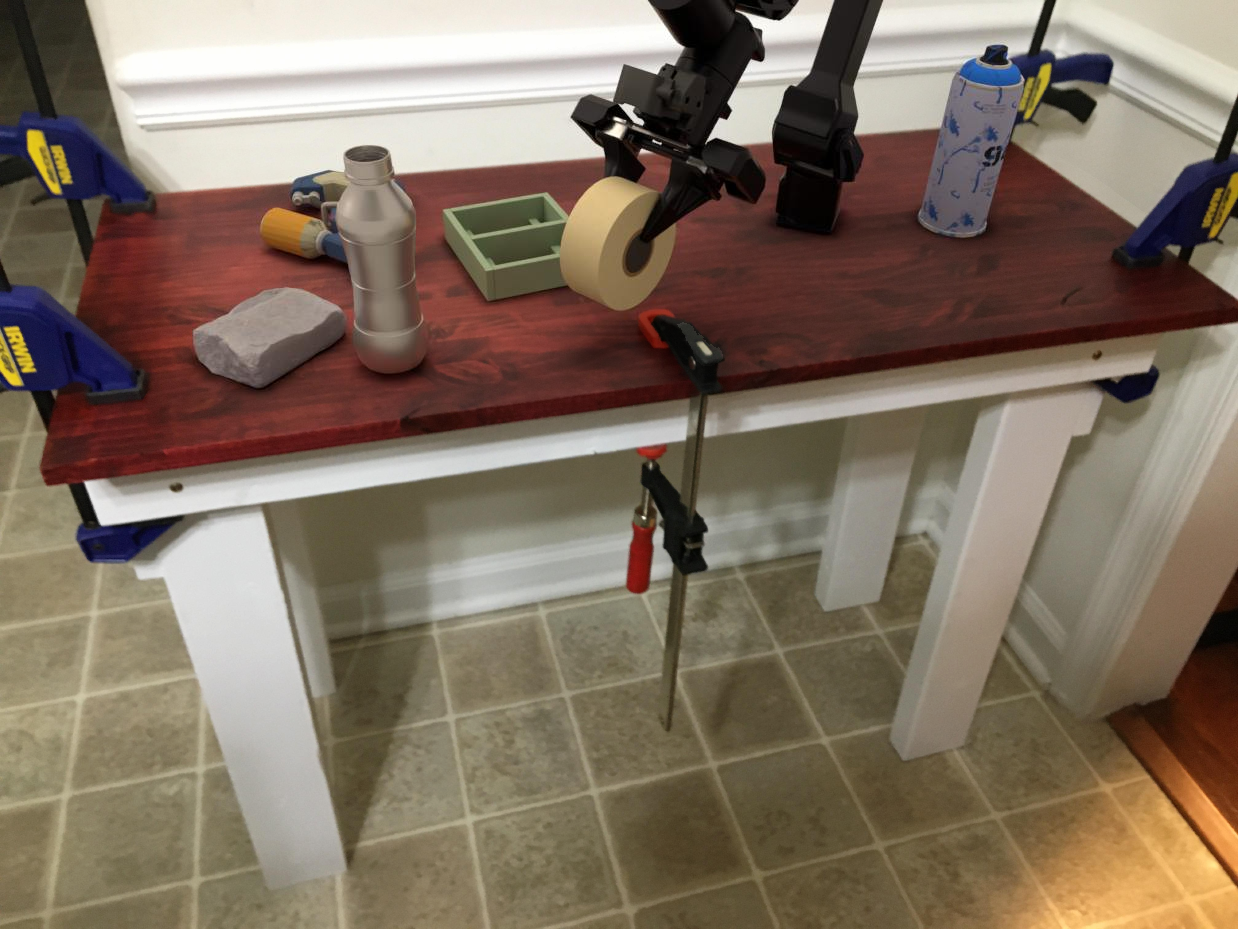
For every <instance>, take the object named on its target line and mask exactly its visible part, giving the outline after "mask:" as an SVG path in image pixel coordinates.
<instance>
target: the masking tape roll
mask: <svg viewBox="0 0 1238 929" xmlns="http://www.w3.org/2000/svg"><path fill="white" fill-rule="evenodd" d="M661 194H662V192H660V191H658V190H654V189H652V188H650V187H647V186H644V185H642V184H639V183H638V182H637V183H634V182H632V181H629V180H626V179H624V178H621V177H608V178H604V177H603V178H602V179H600V180H598V181H597V182H595V183H594V184H592V185H591V186H590V187H589V188H588V189H586V191H585V192H584V193H583V194H582V195H581V197H580V198H579V199H578V200H577V202H576V203H575V205H574V207H573V208H572V210H571V212H570V214H569V215H568V216H569V218H568V221H567V223H566V226H565V229H564V232H563V236H562V241H561V247H560V267H561V272H562V275H563V278H564V280H565V282H566V283H567V285H566V286H568V287H569V288H570V289H571V290H572V291H574V292H575V293H578V294H579V295H581V296H584V297H585V298H588V299H590V300H592V301H595V302H596V303H598V304H601V305H603V306H605V307H607V308H609V309H611V310H615V311H618V312H620V311H621V312H622V311H627V310H630V309H633V308H634V307H636V306H639V304H641V303H642V302H643V301H644V300H646V298H648V296H650V294H651V293H652V292H653V291H654V289H655V288H656V287H657V286H658V284H659V282H660V280H662V277H663V275H664V274H665V272H666V270H667V267H668V265H669V263H670V260H671V258H672V254H673V251H674V246H675V241H676V236H677V235H676V234H677V222H676V223H674V224H673V225H672V226H670V227H669V228H668V229H666V230H665V231H664V232H662V233H661V234H660V235H658V236H657V237H656V238H655V239H653V240H652V241H651V242H649V243H648V244H646V243H644V242H643V241H641V240H640V236H641V233H642V231H643V228H644V226H645V224H646V221H647V220H648V218H649V216H650V214H651V212H652V211H653V209H654V207H655V205H656V203H657V201H658V200H659V198H660V196H661Z"/></svg>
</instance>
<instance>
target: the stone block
mask: <svg viewBox="0 0 1238 929" xmlns="http://www.w3.org/2000/svg"><path fill="white" fill-rule="evenodd" d="M347 318H348V317H347V316H346V314H345V312H344V311H343V310H342V309H341V307H339V306H338V305H337V304H335V303H332V302H330V301H329V300H326V299H324V298H322V297H320V296H318V295H316V294H314V293H311V292H310V291H307V290H304V289H302V288H296V287H295V288H292V287H288V286H284V287H281V288H278V287H274V288H271V289H265V290H263V291H261V292H260V293H258V294H257V295H254V296H252V297H249V298H247V299H246V300H244V301H242V302H240V303H238V304H237V305H236V306H234V307H233V308H232V309H231V310H230V311H229V313H227V314H224V315H222V316H219V317H218V318H216V319H213V321H209V322H207V323H204V324H202V325H200V326H197V328H194V329H193V330H192V338H193V342H192V343H193V346H194V351H195V353H196V356H197V358H198V361H199V362H200V363H201V364H203V365H204V366H205V367H206V368H207V369H208V370H209V371H210V373H212V374H213V375H216V376H217V375H218V376H222V377H224V378H227V379H231V380H233V381H236V382H237V383H239V384H244V385H247V386H250V387H251V388H255V389H262V388H265V387H266V386H268V385H270V384H271V383H273V382H274V381H276V380H277V379H279V378H281V377H283V376H284V375H286V374H288V373H289V372H290V371H292V370H294V369H296V368H297V367H298V366H300V365H301V364H303V363H305V362H307V361H309V360H310V359H312V358H313V357H314V356H316V354H319V353H320V352H322V351H324V350H326V349H327V348H329V347H331V346H332V345H334V344H335V343H336V342H337V341H339V340H340V339H341V338H342V337H343V336H344V335H345V334H346V329H347V322H348V319H347Z"/></svg>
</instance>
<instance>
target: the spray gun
mask: <svg viewBox="0 0 1238 929" xmlns="http://www.w3.org/2000/svg"><path fill="white" fill-rule="evenodd" d="M392 180H393V181H394V182H395V183H396V184H397V185H398V186H399V187H400V188H401V189H402V190H403V191H404V192H405V193H406V188H405V185H404V184H402V183H401V182H400V181H399V180H396V179H395V178H392ZM349 183H350V182H349V181H348V180H347V179H346V178H345V173H344V172H343V171H338V170H332V169H327V170H322V171H319V172H315V173H311V174H308V175H303V176H299V177H297V178H295V179H294V180H293V181H292V185H291V189H290V192H289V197H290V200H291V202H292V203H293V204H294V205H296V206H298V207H301V208H302V207H314V208H315V209H317V210H320V212H321V218H322V220H321V219H319V218H316V217H313V216H308V215H307V214H306V215H305V214H302V213H299V212H295V211H291V210H288V209H285V208H281V207H273V208H271V209H270V210H268V211H267V212H266V213H265V214H264V216H263V217H262V220H261V222H260V229H259V230H260V235H261V238H262V241H263V243H265V245H267V246H268V247H270V248H274V249H276V250H280V251H283V252H286V253H289V254H293V255H295V256H299V257H303V258H306V259H309V260H310V259H317V258H318V257H321V256H322V255H325V256H328V257H330V258H332V259H335V260H337V261H340V262H343V263H345V264H347V265H348V262H347V257H346V254H345V251H344V248H343V245H342V241H341V238H340V235H339V231H338V229H337V224H336V220H335V215H336V209H337V205H338V203H339V200H340V198H341V196H342V194H343V192H344V191H345V189H346V188H347V186H348V185H349ZM406 194H407V193H406ZM328 213H330V215H328ZM328 228H330V230H331V231H330V230H329V229H328Z"/></svg>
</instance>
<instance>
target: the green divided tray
mask: <svg viewBox="0 0 1238 929" xmlns="http://www.w3.org/2000/svg"><path fill="white" fill-rule="evenodd" d="M569 216H570V215H568V214H567V212H565V210H564V209H563V208H562V207H561V205H559V204H558V202H557V201H556V200H555V199H554V198H553V197H552V196H551V195H550V194H549V192H547V191H546V192H541V193H534V194H533V193H532V194H528V195H521V196H517V197H511V198H510V197H509V198H504V199H498V200H493V201H486V202H480V203H475V204H468V205H462V206H456V207H450V208H445V209H442V218H443V219H442V220H443V231H444V239H445V240H446V242H447V244H448V245H449V246H450V248H451V249H452V251H453V252H454V254H455V255H456V257H457V259H458V260H459V262H460V263H461V264H462V266H463V267H464V269H465V270H466V272H467V273H468V275H469V276H470V277H471V279H472V280H473V282H474V283H475V285H476V286H477V288H478V289H479V291H480V292H481V294H482V295H483V297H484V298H485V299H486V301H487V302H492V301H496V300H501V299H506V298H512V297H517V296H522V295H526V294H531V293H536V292H540V291H546V290H551V289H555V288H561V287H566V286H568V285H567V283H566V282H565V280H564V278H563V275H562V272H561V267H560V247H561V241H562V236H563V232H564V229H565V226H566V223H567V221H568V218H569Z"/></svg>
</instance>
